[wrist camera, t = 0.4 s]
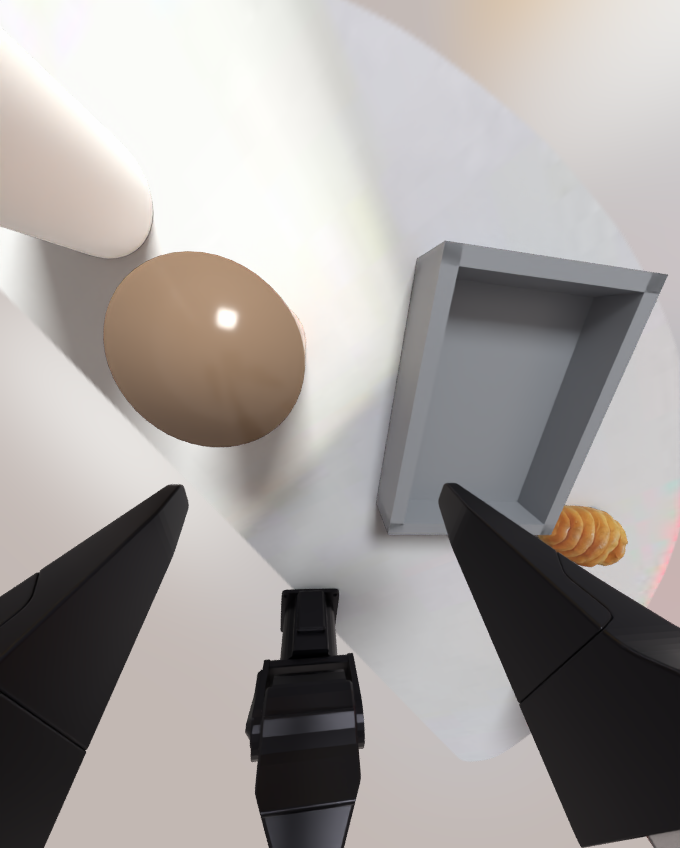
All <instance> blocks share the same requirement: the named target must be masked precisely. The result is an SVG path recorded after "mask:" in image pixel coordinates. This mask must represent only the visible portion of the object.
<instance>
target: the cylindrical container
mask: <svg viewBox="0 0 680 848" xmlns="http://www.w3.org/2000/svg"><path fill="white" fill-rule="evenodd" d="M152 217H153V207H152V198H151V194H150V190H149V186H148V183H147V181H146V179H145V176H144V174H143V172H142V170H141V168H140V167H139V165H138V163H137V162H136V160H135V159H134V157H133V156H132V155H131V154H130V153H129V151H128V150H127V149H126V148H125V147H124V146H123V145H122V144H121V143H120V142H119V141H118V140H117V139H116V138H115V137H114V136H113V135H112V134H111V133H110V132H109V131H108V130H107V129H106V128H105V127H104V126H103V125H102V124H100V123H99V122H98V121H97V120H96V119H95V118H94V117H93V116H92V115H91V114H90V113H89V112H88V111H87V110H86V109H85V108H84V107H83V106H82V105H81V104H80V103H79V102H78V101H77V100H75V99H74V98H73V97H72V96H71V95H70V94H69V93H68V92H67V91H66V90H65V89H64V88H63V87H62V86H61V85H60V84H59V83H58V82H57V81H56V80H55V79H54V78H53V77H52V76H51V75H49V74H48V73H47V72H46V71H45V70H44V69H43V68H42V67H41V66H40V65H39V64H38V63H37V62H36V61H35V60H34V59H33V58H32V57H31V56H30V55H29V54H28V53H27V52H26V51H25V50H23V49H22V48H21V47H20V46H19V45H18V44H17V43H16V42H15V41H14V40H13V39H12V38H11V37H10V36H9V35H8V34H7V33H6V32H5V31H4V30H3V29H2V28H1V27H0V226H1V227H4V228H7V229H10V230H13V231H16V232H19V233H23V234H26V235H29V236H32V237H35V238H38V239H41V240H45V241H48V242H51V243H54V244H57V245H60V246H63V247H66V248H70V249H73V250H76V251H79V252H82V253H85V254H88V255H91V256H95V257H100V258H106V259H107V258H120V257H123V256H126V255H129V254H131V253H132V252H134V251H135V250H137V249H138V248H139V247H140V246H141V245H142V244H143V243H144V241H145V239H146V238H147V236H148V234H149V231H150V228H151V225H152Z"/></svg>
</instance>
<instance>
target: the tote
mask: <svg viewBox="0 0 680 848" xmlns="http://www.w3.org/2000/svg"><path fill="white" fill-rule="evenodd" d="M667 276H668V275H666V274H660V273H654V272H647V271H641V270H634V269H627V268H621V267H614V266H608V265H601V264H595V263H588V262H581V261H575V260H568V259H562V258H555V257H549V256H542V255H535V254H529V253H522V252H516V251H509V250H502V249H496V248H489V247H483V246H476V245H470V244H463V243H456V242H450V241H444V242H442V243H441V244H439V245H438V246H436V247H435V248H433V249H431V250H430V251H428V252H427V253H425V254H424V255H422V256H420V257H419V258H417V263H416V269H415V275H414V281H413V287H412V293H411V299H410V305H409V311H408V317H407V323H406V329H405V335H404V341H403V347H402V353H401V359H400V365H399V371H398V376H397V382H396V388H395V394H394V400H393V406H392V412H391V418H390V424H389V430H388V436H387V442H386V448H385V454H384V460H383V466H382V472H381V478H380V484H379V490H378V495H377V501H376V503H377V506H378V509H379V511H380V514H381V517H382V520H383V522H384V525H385V528H386V530H387V533H388V535H448V534H447V531H446V528H445V524H444V521H443V518H442V515H441V511H440V508H439V504H438V499H439V496H440V493H441V490H442V487H443V485H444V484H445V483H457V484H459V485H460V486H462V487H463V488H465V489H466V490H468V491H469V492H471V493H472V494H474V495H475V496H476V497H478V498H479V499H481V500H482V501H484V502H485V503H487V504H488V505H490V506H491V507H493V508H494V509H496V510H497V511H499V512H500V513H502V514H503V515H504V516H506V517H507V518H509V519H510V520H512V521H513V522H515V523H516V524H518V525H519V526H521V527H522V528H524V529H525V530H527V531H528V532H530V533H531V534H533V535H551V534H552V532H553V529H554V527H555V525H556V523H557V521H558V518H559V516H560V514H561V512H562V509H563V507H564V505H565V503H566V501H567V498H568V496H569V494H570V492H571V489H572V487H573V485H574V483H575V481H576V478H577V476H578V474H579V472H580V469H581V467H582V465H583V463H584V461H585V458H586V456H587V454H588V452H589V449H590V447H591V445H592V443H593V440H594V438H595V436H596V434H597V432H598V429H599V427H600V425H601V423H602V420H603V418H604V416H605V414H606V412H607V409H608V407H609V405H610V403H611V400H612V398H613V396H614V394H615V392H616V389H617V387H618V385H619V383H620V380H621V378H622V376H623V374H624V372H625V369H626V367H627V365H628V363H629V360H630V358H631V356H632V354H633V352H634V349H635V347H636V345H637V343H638V340H639V338H640V336H641V334H642V331H643V329H644V327H645V325H646V323H647V320H648V318H649V316H650V314H651V311H652V309H653V307H654V305H655V303H656V300H657V298H658V296H659V294H660V291H661V289H662V287H663V285H664V282H665V280H666V278H667Z"/></svg>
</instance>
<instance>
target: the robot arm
mask: <svg viewBox="0 0 680 848" xmlns="http://www.w3.org/2000/svg"><path fill="white" fill-rule="evenodd" d="M438 504H439V508H440V511H441V515H442V518H443V521H444V524H445V528H446V531H447V534H448V537H449V540H450V543H451V546H452V548H453V551H454V553H455V556H456V558H457V560H458V563H459V565H460V567H461V570H462V572H463V574H464V577H465V579H466V581H467V584H468V586H469V588H470V591H471V593H472V595H473V598H474V600H475V602H476V605H477V607H478V609H479V612H480V614H481V616H482V619H483V621H484V623H485V626H486V628H487V630H488V633H489V635H490V637H491V640H492V642H493V644H494V647H495V649H496V651H497V654H498V656H499V658H500V661H501V663H502V665H503V668H504V670H505V672H506V675H507V677H508V679H509V682H510V684H511V686H512V689H513V691H514V693H515V696H516V698H517V700H518V702H519V703H520V704H519V706H520V708H521V710H522V713H523V715H524V717H525V720H526V722H527V724H528V727H529V729H530V731H531V734H532V736H533V738H534V741H535V743H536V745H537V748H538V750H539V752H540V755H541V757H542V759H543V762H544V764H545V766H546V769H547V771H548V773H549V776H550V778H551V780H552V783H553V785H554V787H555V790H556V792H557V794H558V797H559V799H560V801H561V803H562V806H563V808H564V811H565V813H566V815H567V817H568V820H569V822H570V825H571V827H572V829H573V832H574V834H575V836H576V838H577V840H578V842H579V844H580V846H581V847H582V848H584V847H590V846H595V845H601V844H606V843H612V842H618V841H623V840H629V839H634V838H640V837H645V836H647V837H648V839H649V840H650V842H651V844H652V845H653V847H654V848H680V628H679V627H677V626H675V625H674V624H672V623H670V622H669V621H667V620H665V619H664V618H662V617H661V616H659V615H657V614H656V613H654V612H652V611H651V610H649V609H647V608H646V607H644V606H643V605H641V604H639V603H638V602H636V601H634V600H633V599H631V598H629V597H628V596H626V595H624V594H623V593H621V592H620V591H618V590H616V589H615V588H613V587H611V586H610V585H608V584H607V583H605V582H603V581H602V580H600V579H599V578H597V577H595V576H594V575H592V574H591V573H589V572H588V571H586V570H585V569H583V568H582V567H580V566H578V565H577V564H575V563H574V562H572V561H571V560H569V559H568V558H567V557H565V556H564V555H562V554H561V553H559V552H556V550H555V549H553V548H552V547H550V546H549V545H547V544H546V543H544V542H543V541H541V540H540V539H538V538H537V537H535V536H534V535H533V534H531V533H530V532H528V531H527V530H525V529H524V528H522V527H521V526H519V525H518V524H516V523H515V522H513V521H512V520H510V519H509V518H507V517H506V516H504V515H503V514H502V513H500V512H499V511H497V510H496V509H494V508H493V507H491V506H490V505H488V504H487V503H485V502H484V501H482V500H481V499H479V498H478V497H476V496H475V495H474V494H472V493H471V492H469V491H468V490H466V489H465V488H463V487H462V486H460V485H459V484H457V483H445V484H444V485H443V487H442V490H441V493H440V496H439V499H438ZM188 506H189V505H188V499H187V496H186V492H185V489H184V486H183V485H180V484H179V485H178V484H173V485H172V484H171V485H167V486H166V487H164V488H163V489H161V490H160V491H158V492H157V493H155V494H154V495H152V496H151V497H149V498H148V499H146V500H145V501H143V502H142V503H140V504H139V505H137V506H136V507H134V508H133V509H131V510H130V511H128V512H127V513H125V514H124V515H122V516H121V517H119V518H118V519H116V520H115V521H113V522H112V523H110V524H109V525H107V526H106V527H104V528H103V529H101V530H100V531H98V532H97V533H95V534H94V535H92V536H91V537H89V538H88V539H86V540H85V541H83V542H82V543H80V544H79V545H77V546H76V547H74V548H73V549H71V550H70V551H68V552H67V553H65V554H64V555H62V556H61V557H59V558H58V559H56V560H55V561H53V562H52V563H50V564H49V565H47V566H46V567H44V568H43V569H41V570H40V572H39V573H35V574H34V575H32V576H31V577H29V578H28V579H26V580H25V581H23V582H22V583H20V584H19V585H17V586H16V587H14V588H13V589H11V590H10V591H8V592H7V593H5V594H3V595H2V596H1V597H0V848H44V846H45V844H46V842H47V839H48V837H49V835H50V833H51V831H52V828H53V826H54V824H55V821H56V819H57V817H58V815H59V813H60V810H61V808H62V806H63V803H64V801H65V799H66V796H67V794H68V792H69V790H70V788H71V785H72V783H73V781H74V778H75V776H76V774H77V772H78V770H79V767H80V765H81V763H82V761H83V758H84V756H85V754H86V751H85V750H87V748H88V747H89V744H90V742H91V740H92V738H93V735H94V733H95V731H96V728H97V726H98V724H99V722H100V719H101V717H102V715H103V713H104V710H105V708H106V706H107V704H108V701H109V699H110V697H111V694H112V692H113V690H114V688H115V686H116V683H117V681H118V679H119V676H120V674H121V672H122V670H123V668H124V665H125V663H126V661H127V659H128V656H129V654H130V652H131V649H132V647H133V645H134V643H135V640H136V638H137V636H138V634H139V631H140V629H141V627H142V625H143V623H144V620H145V618H146V616H147V613H148V611H149V609H150V607H151V604H152V602H153V600H154V598H155V595H156V593H157V591H158V589H159V586H160V584H161V582H162V579H163V577H164V575H165V573H166V571H167V568H168V566H169V564H170V562H171V559H172V557H173V554H174V551H175V549H176V545H177V542H178V539H179V536H180V533H181V530H182V527H183V524H184V520H185V517H186V514H187V511H188ZM338 600H339V590H338V589H297V590H284V591H283V592H282V601H281V632H283V636H282V647H281V658H280V660H274V661H270V660H264V665H263V670H261V671H260V672H259V673H258V675H257V681H256V688H255V693H254V698H253V701H252V705H251V708H250V712H249V715H248V719H247V723H246V730H245V733H246V735H247V736H248V738H249V740H250V748H251V762H256V761H258V765H257V774H256V785H255V795H256V799H257V804H258V808H259V812H260V815H261V819H262V823H263V827H264V831H265V834H266V838H267V842H268V846H269V848H344V845H345V841H346V837H347V832H348V829H349V825H350V820H351V817H352V813H353V809H354V805H355V801H356V797H357V793H358V789H359V785H360V779H361V773H360V760H359V749H363V748H364V743H365V741H364V739H365V733H364V716H363V706H362V699H361V694H360V688H359V682H358V678H357V672H356V668H355V661H354V656H353V653H348V654H347V655H337V645H336V633H335V623H336V615H337V608H338Z"/></svg>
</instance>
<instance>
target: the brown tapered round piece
mask: <svg viewBox="0 0 680 848" xmlns="http://www.w3.org/2000/svg"><path fill="white" fill-rule="evenodd" d="M103 340H104V348H105V354H106V358H107V362H108V366H109V368H110V371H111V373H112V376H113V378H114V380H115V382H116V384H117V386H118V387H119V389H120V391H121V392H122V394H123V395H124V397H125V398H126V399H127V401H128V402H129V403H130V404H131V405H132V407H133V408H134V409H135V410H136V411H137V412H138V413H139V414H140V415H141V416H142V417H143V418H145V419H146V420H147V421H148V422H149V423H151V424H152V425H154V426H155V427H156V428H158V429H160V430H161V431H163V432H165V433H166V434H168V435H170V436H173V437H175V438H177V439H179V440H182V441H185V442H188V443H191V444H196V445H201V446H207V447H231V446H238V445H242V444H246V443H249V442H252V441H255V440H257V439H259V438H261V437H263V436H265V435H267V434H268V433H270V432H271V431H272V430H274V429H275V428H276V427H277V426H278V425H280V424H281V423H282V422H283V421H284V420H285V418H286V417H287V416H288V414H289V413H290V412H291V410H292V409H293V407H294V405H295V403H296V402H297V399H298V397H299V394H300V392H301V388H302V384H303V379H304V372H305V348H306V337H305V332H304V328H303V326H302V324H301V322H300V320H299V319H298V317H297V316H296V315H295V314H294V312H293V311H292V310H290V309H289V307H288V306H287V305H286V303H285V302H284V301H283V299H282V298H281V297H280V296H279V295H278V294H277V293H276V291H275V290H274V289H273V288H272V287H271V286H270V285H269V284H267V283H266V282H265V281H264V280H263V279H261V278H260V277H259V276H258V275H257V274H255V273H254V272H252V271H250V270H249V269H247V268H246V267H244V266H242V265H240V264H238V263H236V262H234V261H232V260H230V259H227V258H224V257H221V256H218V255H214V254H209V253H204V252H190V251H185V252H174V253H169V254H165V255H161V256H158V257H155V258H153V259H151V260H148V261H146V262H145V263H143V264H141V265H140V266H138V267H137V268H135V269H134V270H133V271H132V272H131V273H130V274H128V275H127V276H126V277H125V278H124V279H123V281H122V282H121V283H120V285H119V286H118V287H117V288H116V290H115V292H114V294H113V296H112V298H111V300H110V302H109V305H108V308H107V311H106V315H105V321H104V337H103Z"/></svg>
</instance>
